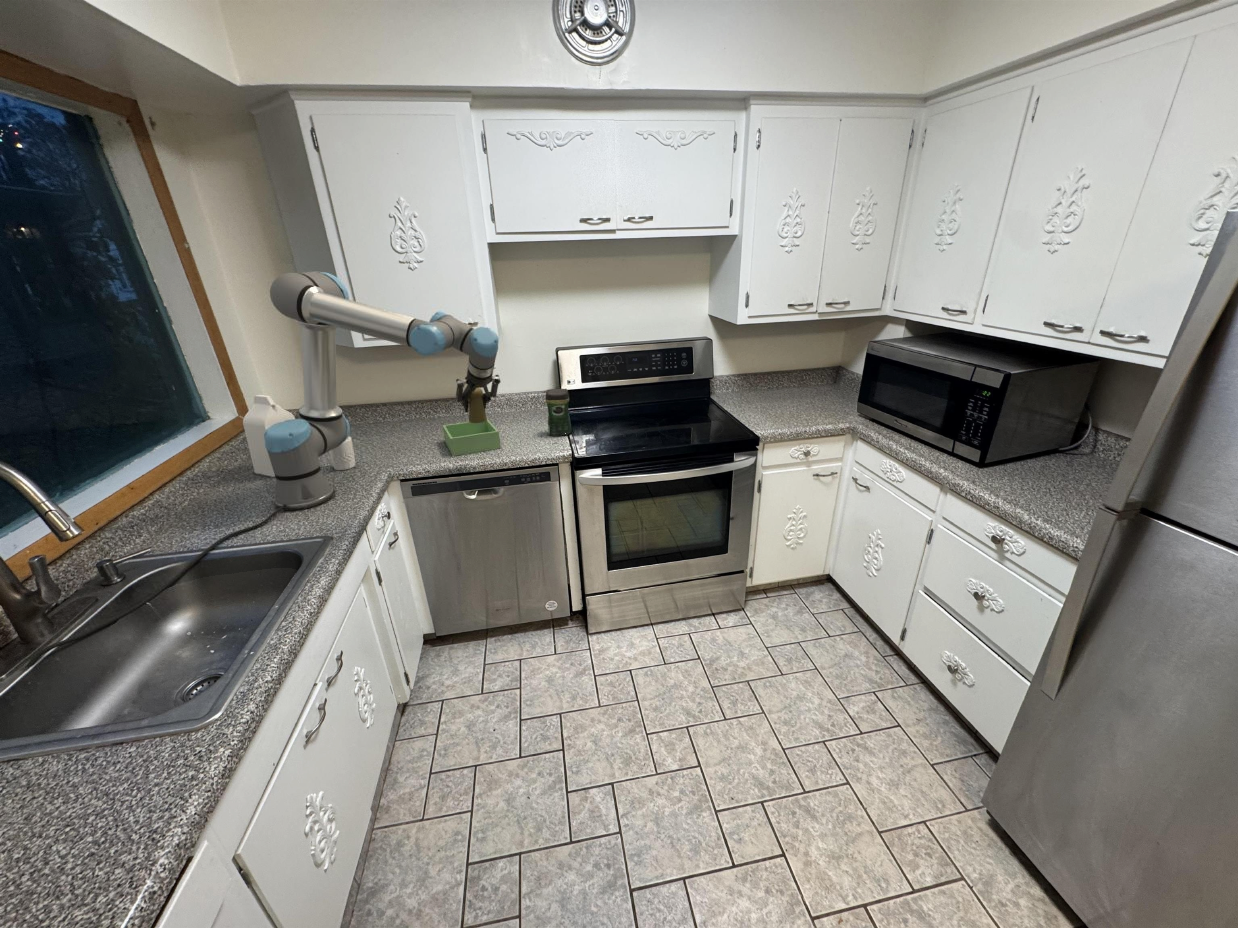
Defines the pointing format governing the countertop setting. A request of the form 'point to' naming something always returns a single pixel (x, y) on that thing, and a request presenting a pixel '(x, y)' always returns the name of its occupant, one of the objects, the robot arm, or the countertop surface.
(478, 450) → the box
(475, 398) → the cork
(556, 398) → the coffee jar
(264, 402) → the milk
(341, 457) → the white cup
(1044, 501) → the countertop surface
